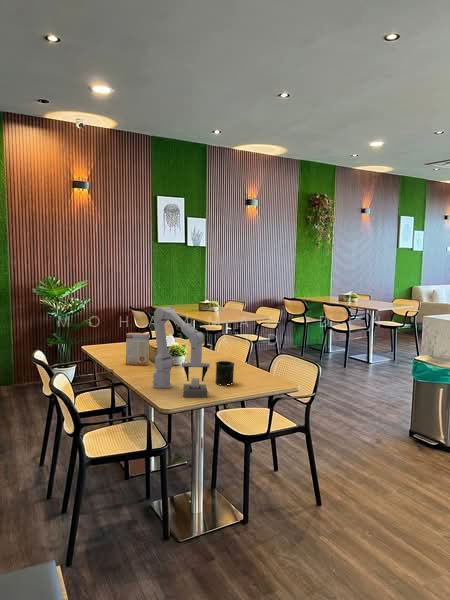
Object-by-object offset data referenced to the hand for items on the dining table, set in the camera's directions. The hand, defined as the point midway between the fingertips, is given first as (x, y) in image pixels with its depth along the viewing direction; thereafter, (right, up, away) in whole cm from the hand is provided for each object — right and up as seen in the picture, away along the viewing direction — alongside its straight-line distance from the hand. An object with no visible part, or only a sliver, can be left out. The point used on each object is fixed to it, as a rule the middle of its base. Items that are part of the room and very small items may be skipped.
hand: (195, 380), depth 237 cm
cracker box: (-42, 0, +60) cm, 74 cm away
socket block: (0, -7, +1) cm, 7 cm away
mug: (+14, -6, +24) cm, 29 cm away
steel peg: (0, -7, +1) cm, 7 cm away
